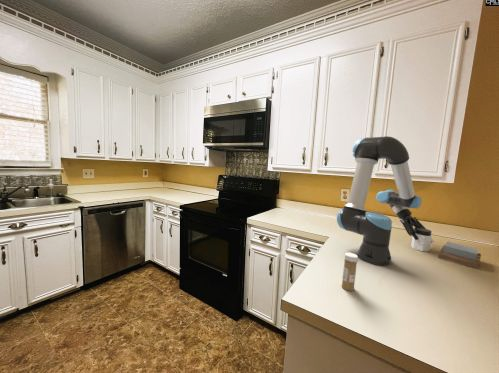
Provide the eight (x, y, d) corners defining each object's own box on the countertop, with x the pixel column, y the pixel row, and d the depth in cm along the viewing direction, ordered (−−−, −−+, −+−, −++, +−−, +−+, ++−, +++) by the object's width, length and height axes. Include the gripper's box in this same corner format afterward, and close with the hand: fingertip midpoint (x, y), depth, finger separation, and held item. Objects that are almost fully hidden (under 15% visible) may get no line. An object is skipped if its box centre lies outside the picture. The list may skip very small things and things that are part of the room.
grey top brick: (475, 260, 106) (476, 253, 106) (443, 251, 115) (444, 245, 115) (476, 254, 114) (477, 248, 114) (446, 247, 123) (447, 241, 123)
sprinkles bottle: (354, 292, 79) (358, 258, 78) (341, 289, 81) (345, 255, 79) (353, 286, 83) (357, 253, 82) (341, 283, 85) (344, 251, 83)
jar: (420, 246, 132) (423, 227, 131) (432, 251, 124) (436, 231, 123) (407, 245, 131) (410, 227, 130) (418, 251, 123) (422, 231, 122)
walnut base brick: (478, 269, 104) (479, 260, 104) (438, 257, 116) (439, 250, 115) (479, 261, 114) (481, 253, 114) (442, 251, 125) (444, 244, 125)
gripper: (406, 213, 144) (430, 244, 132) (386, 215, 135) (410, 248, 122) (416, 207, 139) (442, 239, 127) (396, 208, 130) (422, 243, 117)
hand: (426, 243), depth 125 cm, fingers open, 9 cm apart
